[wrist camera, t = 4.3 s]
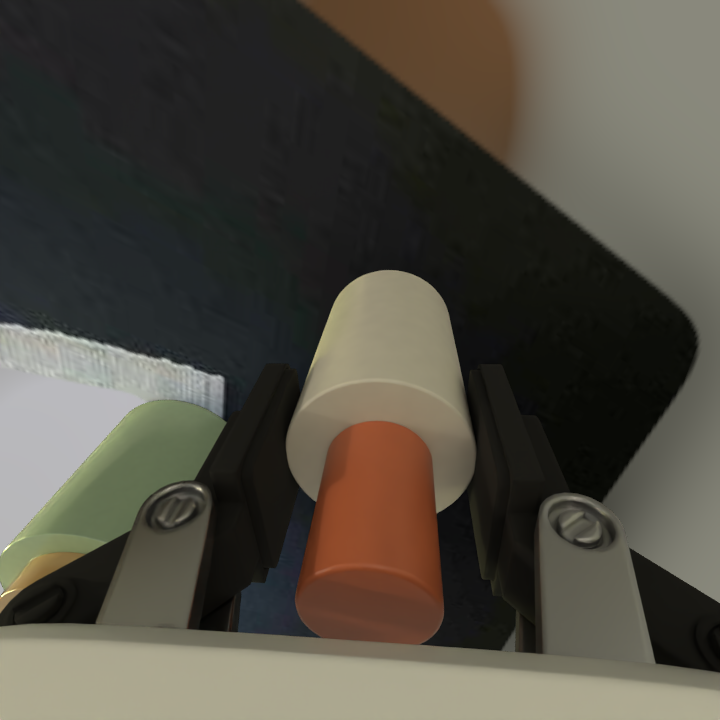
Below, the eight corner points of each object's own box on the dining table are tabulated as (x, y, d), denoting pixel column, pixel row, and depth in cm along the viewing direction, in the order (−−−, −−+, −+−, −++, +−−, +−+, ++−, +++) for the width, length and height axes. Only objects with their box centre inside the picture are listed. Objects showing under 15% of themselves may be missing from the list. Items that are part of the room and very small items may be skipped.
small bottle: (324, 270, 15) (203, 514, 6) (452, 268, 15) (531, 528, 6) (334, 377, 17) (257, 673, 8) (446, 378, 17) (495, 692, 8)
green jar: (99, 399, 25) (-76, 566, 15) (236, 399, 24) (137, 574, 15) (140, 500, 28) (19, 681, 19) (259, 503, 28) (192, 691, 19)
